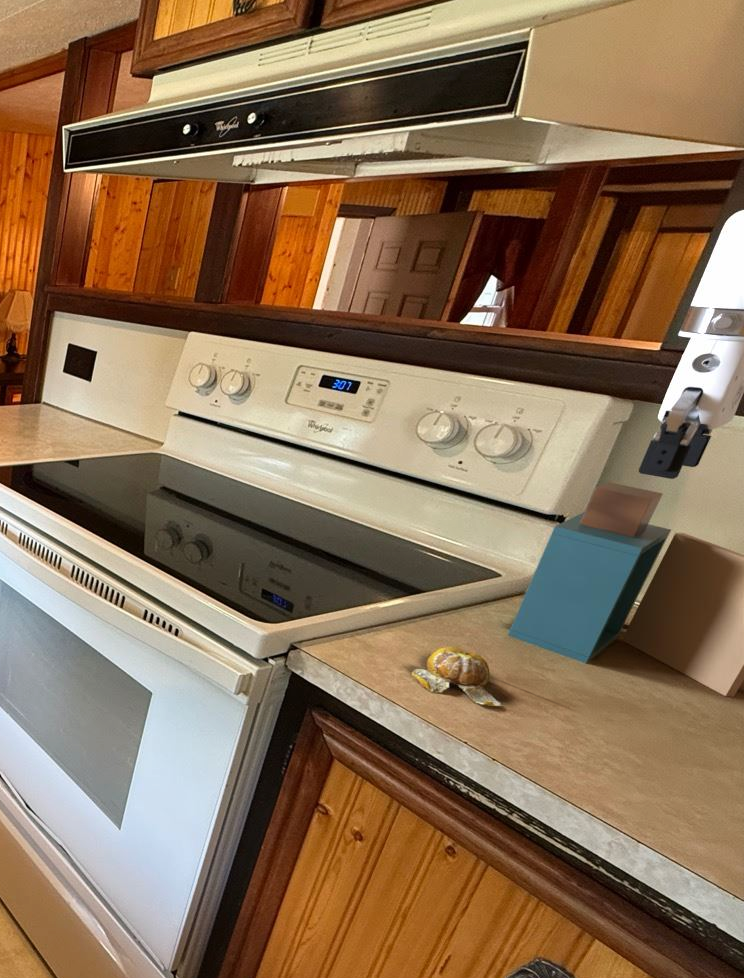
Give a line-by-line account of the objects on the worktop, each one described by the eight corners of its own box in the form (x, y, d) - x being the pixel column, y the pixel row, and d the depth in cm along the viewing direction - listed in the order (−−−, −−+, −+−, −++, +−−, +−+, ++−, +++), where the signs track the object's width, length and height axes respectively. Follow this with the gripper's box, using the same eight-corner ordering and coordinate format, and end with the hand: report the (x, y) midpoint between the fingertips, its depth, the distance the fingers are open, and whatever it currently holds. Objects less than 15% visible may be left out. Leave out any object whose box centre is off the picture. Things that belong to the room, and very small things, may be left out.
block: (645, 530, 91) (663, 493, 89) (633, 537, 89) (651, 499, 87) (592, 518, 95) (608, 482, 93) (579, 524, 93) (596, 487, 91)
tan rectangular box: (679, 643, 97) (737, 535, 91) (792, 700, 85) (867, 580, 79) (621, 640, 97) (675, 532, 92) (725, 696, 85) (795, 576, 80)
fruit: (411, 685, 85) (421, 658, 84) (411, 656, 92) (421, 631, 90) (501, 712, 81) (514, 685, 80) (495, 680, 87) (507, 654, 86)
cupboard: (616, 638, 98) (671, 529, 92) (585, 664, 91) (642, 548, 85) (541, 613, 104) (587, 510, 98) (507, 636, 98) (554, 526, 92)
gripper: (767, 332, 75) (694, 489, 81) (796, 325, 84) (729, 467, 90) (664, 325, 81) (604, 472, 87) (701, 319, 90) (644, 453, 96)
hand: (667, 469), depth 89 cm, fingers open, 9 cm apart
